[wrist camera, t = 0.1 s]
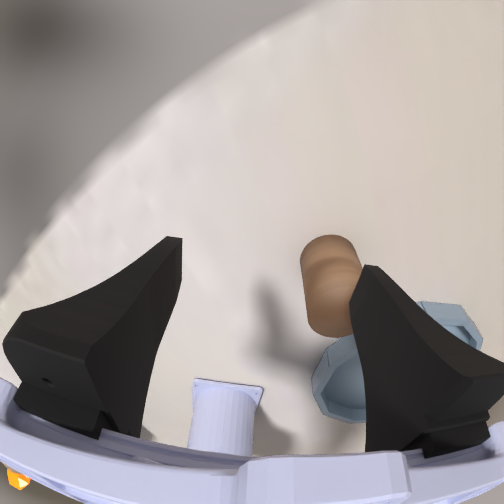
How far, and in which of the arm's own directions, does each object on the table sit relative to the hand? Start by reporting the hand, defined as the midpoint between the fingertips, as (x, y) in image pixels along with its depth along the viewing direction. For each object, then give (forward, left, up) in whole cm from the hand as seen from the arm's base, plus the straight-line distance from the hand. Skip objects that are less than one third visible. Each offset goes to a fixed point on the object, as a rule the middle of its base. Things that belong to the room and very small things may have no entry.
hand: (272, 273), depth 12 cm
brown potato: (-5, -6, -10) cm, 13 cm away
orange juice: (-129, +84, -10) cm, 155 cm away
